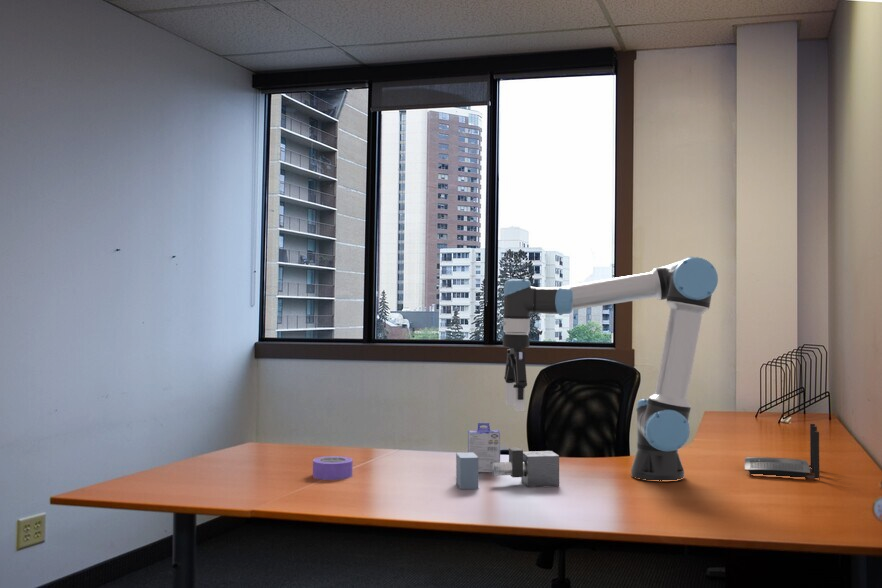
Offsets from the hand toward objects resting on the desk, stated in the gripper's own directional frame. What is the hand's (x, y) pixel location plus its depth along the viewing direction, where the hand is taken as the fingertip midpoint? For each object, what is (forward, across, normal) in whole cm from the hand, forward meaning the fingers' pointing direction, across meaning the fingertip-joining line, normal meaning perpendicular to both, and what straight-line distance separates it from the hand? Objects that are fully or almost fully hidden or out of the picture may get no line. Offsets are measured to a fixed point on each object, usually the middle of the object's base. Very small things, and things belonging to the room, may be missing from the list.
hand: (514, 408), depth 234 cm
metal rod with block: (+19, +1, +3) cm, 19 cm away
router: (+20, -7, +83) cm, 86 cm away
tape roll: (+23, -17, -51) cm, 59 cm away
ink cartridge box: (+22, -19, -5) cm, 29 cm away
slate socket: (+22, +1, -13) cm, 25 cm away
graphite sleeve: (+21, +1, +8) cm, 23 cm away
